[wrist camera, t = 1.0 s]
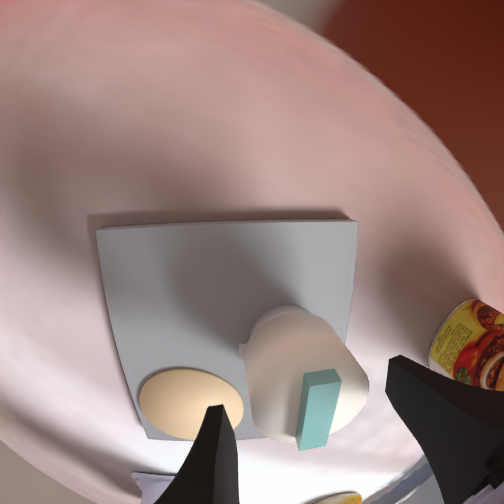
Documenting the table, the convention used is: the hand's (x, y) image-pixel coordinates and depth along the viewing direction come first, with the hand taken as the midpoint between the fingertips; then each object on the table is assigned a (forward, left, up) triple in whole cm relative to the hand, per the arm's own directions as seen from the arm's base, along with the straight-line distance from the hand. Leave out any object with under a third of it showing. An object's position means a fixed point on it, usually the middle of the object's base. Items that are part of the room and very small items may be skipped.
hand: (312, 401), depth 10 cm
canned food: (-4, -17, -7) cm, 19 cm away
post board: (-2, +3, -7) cm, 8 cm away
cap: (0, 0, -4) cm, 4 cm away
